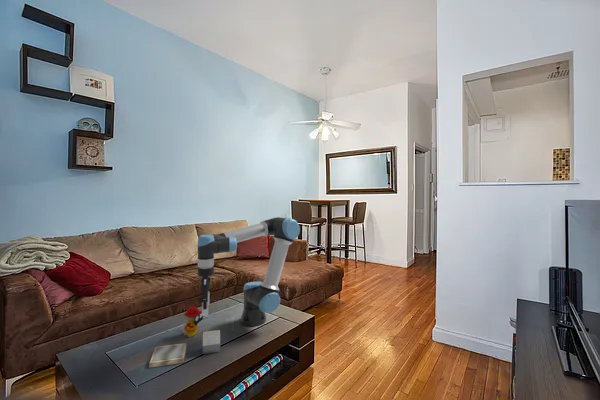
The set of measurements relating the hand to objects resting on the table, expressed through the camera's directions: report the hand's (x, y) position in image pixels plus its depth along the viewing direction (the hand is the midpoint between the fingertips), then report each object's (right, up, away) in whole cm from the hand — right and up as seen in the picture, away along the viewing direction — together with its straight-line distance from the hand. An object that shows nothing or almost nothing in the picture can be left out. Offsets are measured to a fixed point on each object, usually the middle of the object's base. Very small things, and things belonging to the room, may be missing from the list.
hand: (205, 309), depth 141 cm
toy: (-12, -19, +15) cm, 27 cm away
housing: (+3, -19, 0) cm, 20 cm away
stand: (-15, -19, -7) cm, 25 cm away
